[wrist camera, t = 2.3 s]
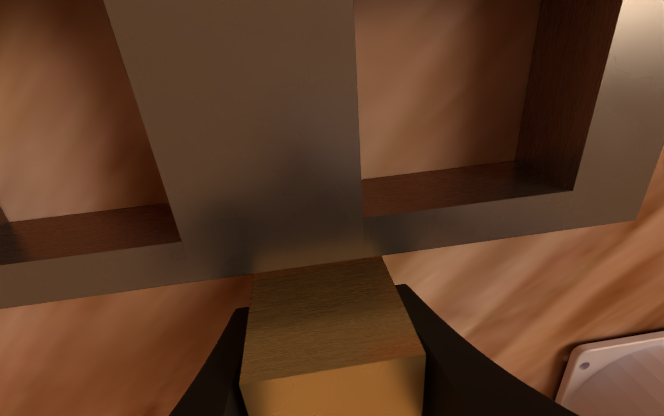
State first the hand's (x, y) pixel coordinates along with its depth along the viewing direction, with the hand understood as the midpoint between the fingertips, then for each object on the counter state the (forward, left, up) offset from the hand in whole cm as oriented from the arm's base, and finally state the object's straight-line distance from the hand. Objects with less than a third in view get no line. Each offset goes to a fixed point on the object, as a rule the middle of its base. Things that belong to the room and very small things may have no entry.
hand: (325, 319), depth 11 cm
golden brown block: (0, 0, -2) cm, 2 cm away
